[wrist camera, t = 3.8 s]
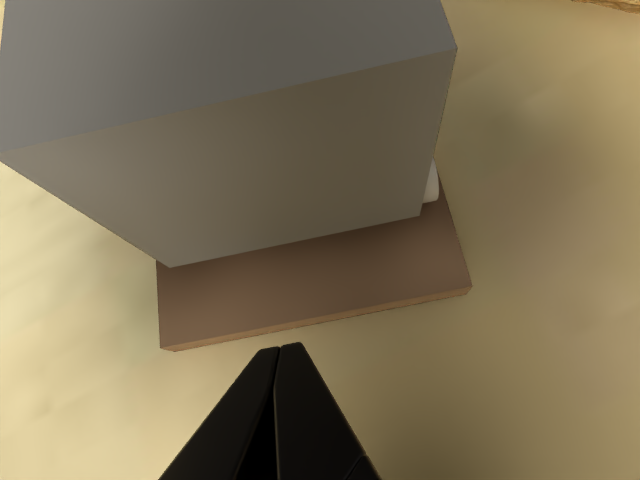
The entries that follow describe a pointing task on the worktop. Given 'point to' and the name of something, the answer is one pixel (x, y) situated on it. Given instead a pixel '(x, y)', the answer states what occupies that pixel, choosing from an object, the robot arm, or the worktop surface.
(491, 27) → the worktop surface
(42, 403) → the worktop surface
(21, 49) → the gray rectangular block
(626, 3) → the shard
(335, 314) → the roller bed
